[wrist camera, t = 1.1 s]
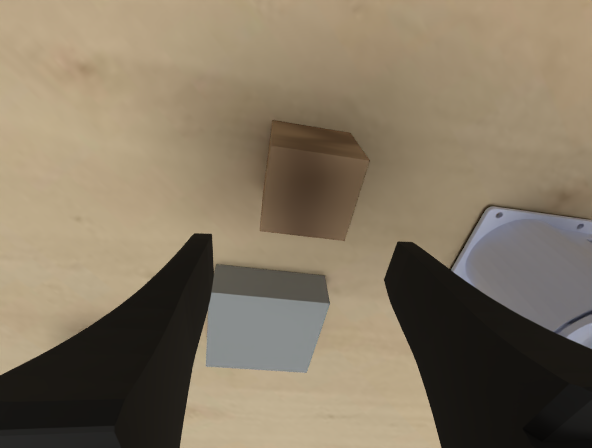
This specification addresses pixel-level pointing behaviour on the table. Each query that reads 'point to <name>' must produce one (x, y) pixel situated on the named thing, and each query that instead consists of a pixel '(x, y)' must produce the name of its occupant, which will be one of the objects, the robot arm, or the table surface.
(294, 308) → the grey block
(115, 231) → the table surface
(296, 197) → the walnut cube
